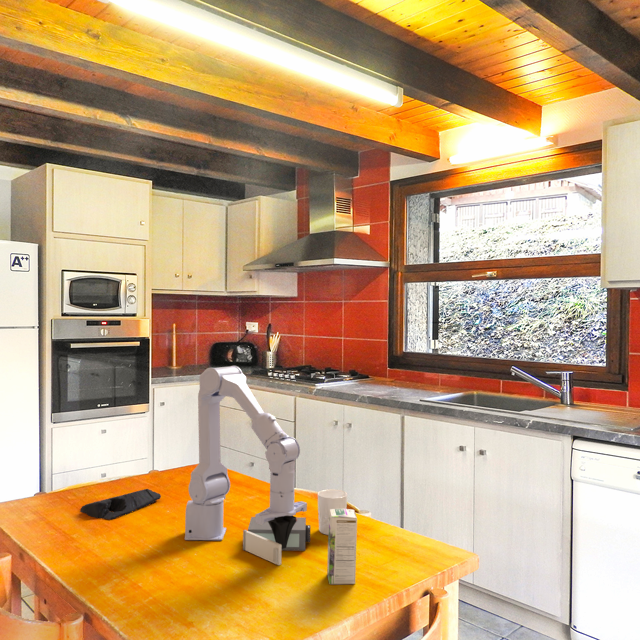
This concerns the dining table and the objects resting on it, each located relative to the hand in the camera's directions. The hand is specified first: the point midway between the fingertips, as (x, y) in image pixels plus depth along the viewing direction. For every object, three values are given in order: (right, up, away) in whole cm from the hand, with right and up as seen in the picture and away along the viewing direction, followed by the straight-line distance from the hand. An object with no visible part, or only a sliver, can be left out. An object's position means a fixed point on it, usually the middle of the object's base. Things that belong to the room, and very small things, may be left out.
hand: (281, 547), depth 141 cm
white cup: (+12, -3, +18) cm, 22 cm away
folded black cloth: (-49, -2, +35) cm, 61 cm away
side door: (-5, -2, 0) cm, 5 cm away
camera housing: (-2, -2, +9) cm, 9 cm away
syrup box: (+14, -3, -11) cm, 18 cm away
